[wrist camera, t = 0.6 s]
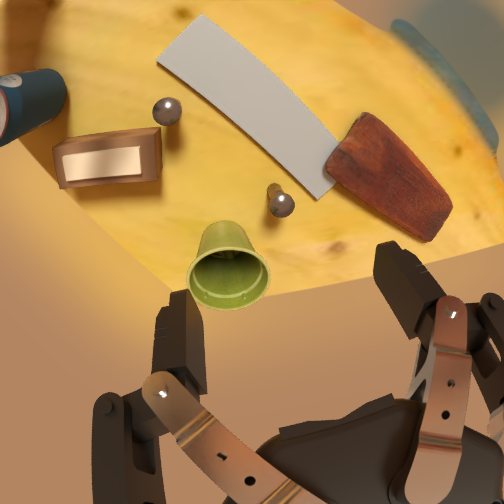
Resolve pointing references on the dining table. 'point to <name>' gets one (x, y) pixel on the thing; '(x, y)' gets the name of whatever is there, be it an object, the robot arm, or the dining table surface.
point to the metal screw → (167, 111)
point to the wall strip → (253, 100)
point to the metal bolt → (280, 201)
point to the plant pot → (227, 269)
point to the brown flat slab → (389, 177)
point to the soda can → (29, 101)
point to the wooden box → (109, 158)
